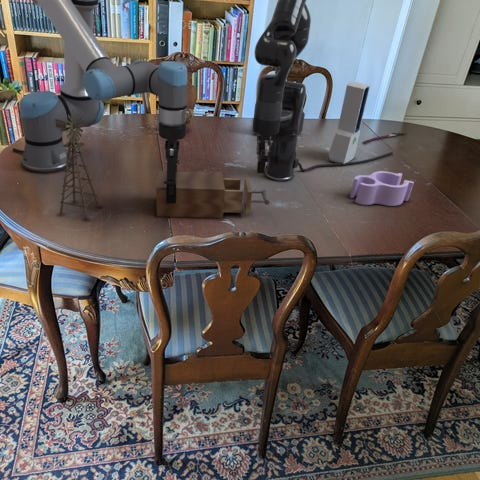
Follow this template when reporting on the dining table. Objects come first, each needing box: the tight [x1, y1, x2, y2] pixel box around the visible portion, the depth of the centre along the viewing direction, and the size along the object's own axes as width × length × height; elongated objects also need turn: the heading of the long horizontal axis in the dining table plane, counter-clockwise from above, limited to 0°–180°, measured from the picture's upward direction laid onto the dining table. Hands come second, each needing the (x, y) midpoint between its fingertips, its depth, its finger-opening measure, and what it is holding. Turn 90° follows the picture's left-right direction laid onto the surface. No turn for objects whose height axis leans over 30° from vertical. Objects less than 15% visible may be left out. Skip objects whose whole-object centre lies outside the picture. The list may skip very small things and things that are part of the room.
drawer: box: [223, 177, 270, 216], centre depth 142 cm, size 24×10×8 cm, turn 95°
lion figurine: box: [185, 108, 195, 133], centre depth 195 cm, size 15×5×9 cm, turn 110°
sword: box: [363, 132, 408, 145], centre depth 213 cm, size 31×3×1 cm, turn 126°
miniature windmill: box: [55, 109, 100, 220], centre depth 128 cm, size 9×8×30 cm
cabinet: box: [155, 170, 225, 219], centre depth 140 cm, size 20×11×10 cm, turn 95°
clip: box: [349, 170, 415, 207], centre depth 159 cm, size 20×12×7 cm, turn 109°
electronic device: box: [328, 80, 371, 164], centre depth 179 cm, size 12×8×30 cm, turn 148°
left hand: (171, 193), depth 140 cm, fingers closed on cabinet, 11 cm apart
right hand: (260, 172), depth 139 cm, fingers closed
